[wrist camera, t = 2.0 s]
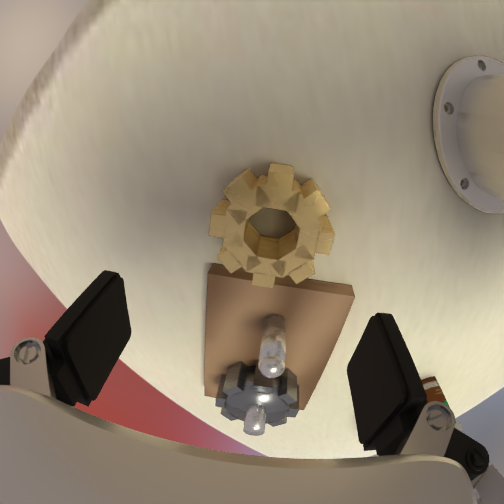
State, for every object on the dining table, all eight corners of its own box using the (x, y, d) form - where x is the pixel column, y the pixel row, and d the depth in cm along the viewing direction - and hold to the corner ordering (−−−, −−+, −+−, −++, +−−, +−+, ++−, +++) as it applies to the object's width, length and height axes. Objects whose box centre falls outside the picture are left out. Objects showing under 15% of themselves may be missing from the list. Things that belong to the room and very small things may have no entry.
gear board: (351, 285, 21) (355, 296, 20) (303, 399, 29) (303, 410, 27) (212, 263, 22) (208, 273, 20) (207, 385, 29) (204, 395, 28)
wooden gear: (336, 174, 18) (346, 185, 15) (314, 270, 21) (317, 295, 18) (226, 156, 18) (214, 163, 15) (217, 254, 21) (206, 276, 19)
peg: (288, 315, 21) (287, 368, 17) (284, 332, 22) (281, 384, 17) (265, 311, 21) (259, 364, 17) (262, 328, 22) (255, 381, 17)
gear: (307, 365, 24) (308, 416, 19) (289, 407, 27) (287, 450, 22) (223, 353, 24) (211, 402, 19) (219, 397, 28) (209, 439, 23)
